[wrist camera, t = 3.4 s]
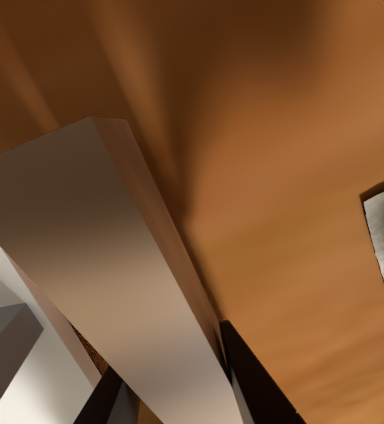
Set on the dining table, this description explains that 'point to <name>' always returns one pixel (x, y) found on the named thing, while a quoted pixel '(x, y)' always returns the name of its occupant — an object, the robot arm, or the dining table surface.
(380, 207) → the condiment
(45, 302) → the balance stand
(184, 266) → the walnut bar
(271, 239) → the dining table surface
